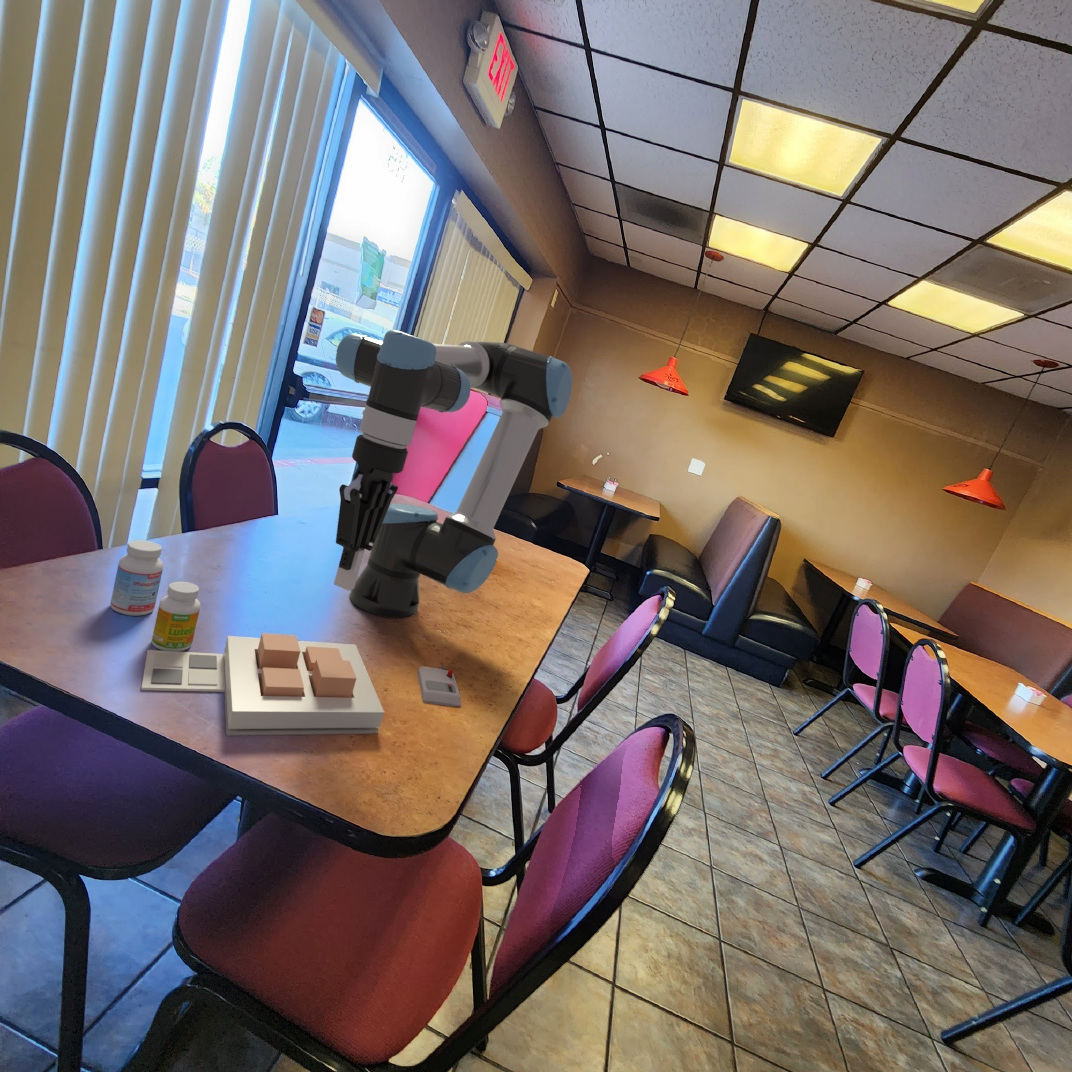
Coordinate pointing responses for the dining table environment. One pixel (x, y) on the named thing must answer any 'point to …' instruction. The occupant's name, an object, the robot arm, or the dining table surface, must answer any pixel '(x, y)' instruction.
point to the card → (183, 671)
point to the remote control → (438, 686)
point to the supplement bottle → (177, 617)
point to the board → (294, 713)
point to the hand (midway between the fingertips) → (343, 586)
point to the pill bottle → (138, 579)
